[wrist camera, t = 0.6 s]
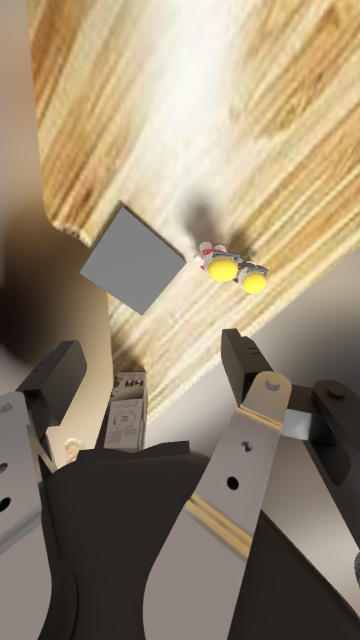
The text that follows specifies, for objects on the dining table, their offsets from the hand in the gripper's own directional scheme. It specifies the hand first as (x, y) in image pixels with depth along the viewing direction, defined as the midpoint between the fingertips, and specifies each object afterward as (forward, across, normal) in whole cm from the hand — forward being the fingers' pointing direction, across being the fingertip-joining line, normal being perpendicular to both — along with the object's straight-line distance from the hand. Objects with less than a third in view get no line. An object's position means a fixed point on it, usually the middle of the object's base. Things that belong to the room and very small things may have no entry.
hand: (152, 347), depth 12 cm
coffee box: (+24, +9, +27) cm, 37 cm away
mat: (+24, +5, +1) cm, 25 cm away
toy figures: (+25, -10, +1) cm, 27 cm away
